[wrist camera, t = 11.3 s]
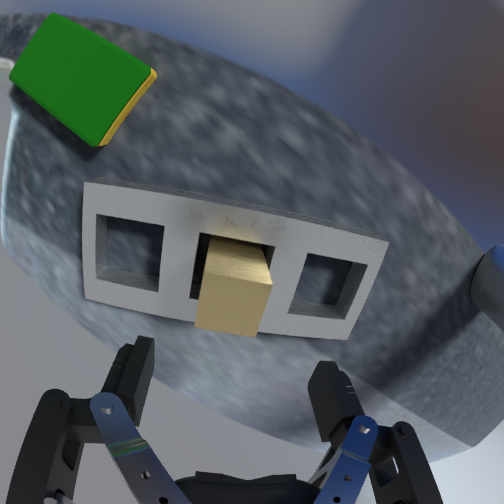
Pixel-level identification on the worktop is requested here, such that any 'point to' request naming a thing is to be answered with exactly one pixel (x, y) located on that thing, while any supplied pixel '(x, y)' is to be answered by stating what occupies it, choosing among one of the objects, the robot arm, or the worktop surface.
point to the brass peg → (233, 287)
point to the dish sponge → (81, 78)
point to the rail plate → (233, 226)
